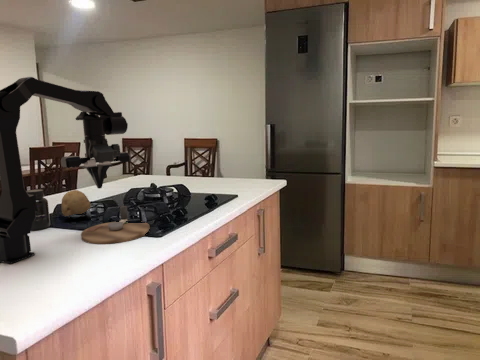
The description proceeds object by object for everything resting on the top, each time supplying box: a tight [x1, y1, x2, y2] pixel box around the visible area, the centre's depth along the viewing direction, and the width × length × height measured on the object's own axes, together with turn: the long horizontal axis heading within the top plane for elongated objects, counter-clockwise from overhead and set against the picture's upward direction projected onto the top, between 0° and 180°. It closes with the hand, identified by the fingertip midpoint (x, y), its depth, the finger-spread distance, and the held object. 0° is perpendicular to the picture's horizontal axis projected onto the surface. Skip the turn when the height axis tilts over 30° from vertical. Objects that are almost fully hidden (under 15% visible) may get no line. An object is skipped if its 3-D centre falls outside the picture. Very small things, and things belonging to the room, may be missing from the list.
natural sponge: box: [61, 189, 92, 217], centre depth 128 cm, size 9×9×10 cm
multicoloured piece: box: [108, 205, 129, 230], centre depth 113 cm, size 10×4×5 cm, turn 177°
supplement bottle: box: [26, 189, 51, 231], centre depth 119 cm, size 7×7×12 cm
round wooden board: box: [80, 221, 150, 245], centre depth 110 cm, size 19×19×1 cm
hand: (99, 188), depth 113 cm, fingers closed
